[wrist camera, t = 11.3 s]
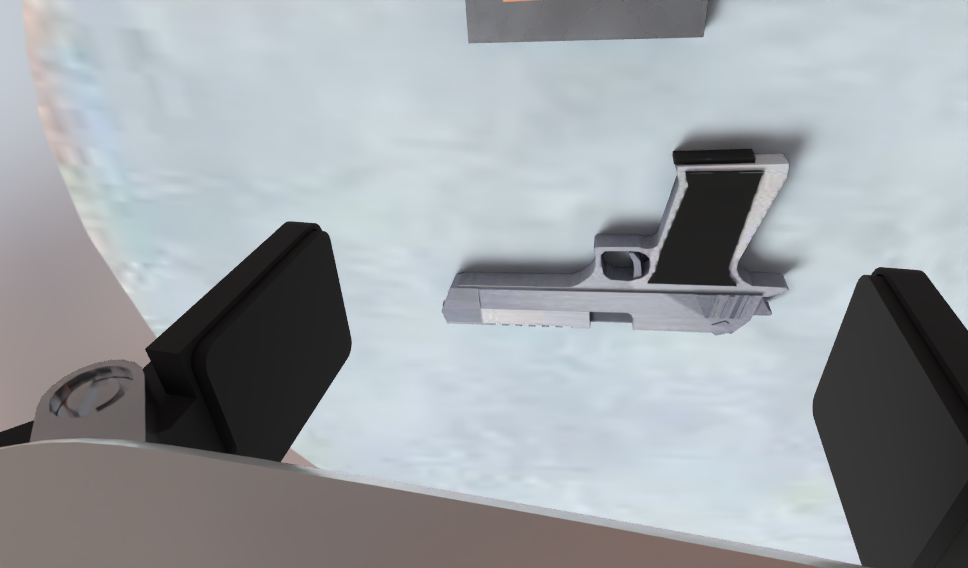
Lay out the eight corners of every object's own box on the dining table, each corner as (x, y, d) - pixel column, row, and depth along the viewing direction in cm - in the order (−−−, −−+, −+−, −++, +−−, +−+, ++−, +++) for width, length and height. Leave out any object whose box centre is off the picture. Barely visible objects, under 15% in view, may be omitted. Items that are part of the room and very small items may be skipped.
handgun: (413, 170, 35) (442, 326, 42) (819, 159, 30) (780, 338, 37) (424, 155, 37) (450, 306, 44) (808, 143, 32) (772, 316, 39)
